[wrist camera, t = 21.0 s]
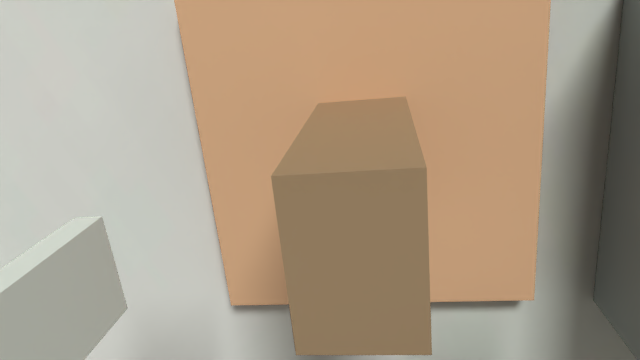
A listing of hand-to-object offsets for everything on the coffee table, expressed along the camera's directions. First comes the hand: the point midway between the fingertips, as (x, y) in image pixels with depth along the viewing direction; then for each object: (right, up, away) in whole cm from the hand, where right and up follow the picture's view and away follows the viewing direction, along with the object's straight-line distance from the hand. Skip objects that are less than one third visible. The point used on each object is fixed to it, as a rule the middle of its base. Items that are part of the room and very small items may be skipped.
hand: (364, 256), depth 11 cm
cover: (+1, +3, +10) cm, 11 cm away
